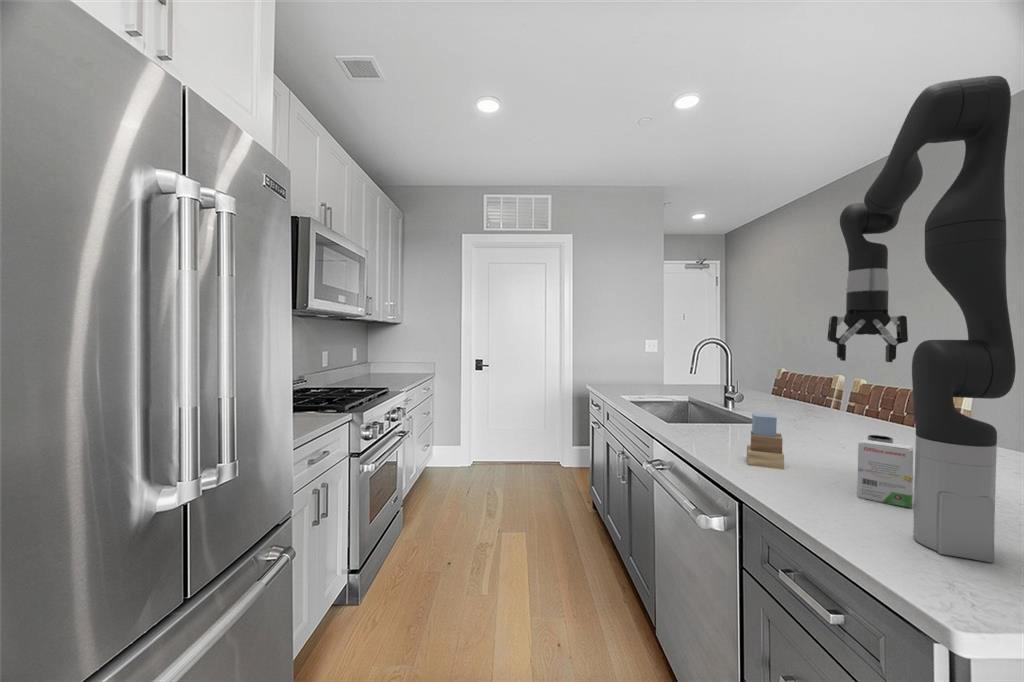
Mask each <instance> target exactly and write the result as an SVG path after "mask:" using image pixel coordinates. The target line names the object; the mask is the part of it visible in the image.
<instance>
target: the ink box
mask: <svg viewBox="0 0 1024 682" xmlns="http://www.w3.org/2000/svg"><path fill="white" fill-rule="evenodd" d="M857 444H858V446H857V479H856V481H857V482H856V483H857V485H856V487H857V489H856V497H858V498H861V499H866V500H870V501H875V502H879V503H882V504H889V505H894V506H897V507H903V508H906V509H911V508H912V506H913V500H914V446H912V445H905V444H897V443H893V444H892V443H885V442H878V441H871V440H868V439H862V440H860V441H858V443H857Z"/></svg>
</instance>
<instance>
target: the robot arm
mask: <svg viewBox="0 0 1024 682" xmlns="http://www.w3.org/2000/svg"><path fill="white" fill-rule="evenodd" d="M1011 96H1012V94H1011V87H1010V85H1009V82H1008V80H1007V79H1006V78H1004V76H1001V75H988V76H987V75H986V76H979V77H978V76H977V77H970V78H962V79H954V80H948V81H947V80H946V81H942V82H937V83H934V84H931V85H929V86H928V87H926V88H924V89H923V90H922V91H921V92H920V94H919V95H918V96H917V97H916V99H915V100H914V102H913V103H912V105H911V107H910V109H909V111H908V112H907V115H906V117H905V119H904V121H903V122H902V125H901V127H900V129H899V132H898V134H897V135H896V139H895V140H894V143H893V146H892V149H891V150H890V152H889V155H888V158H887V160H886V162H885V164H884V166H883V168H882V170H881V171H880V173H879V174H878V176H877V177H876V178H875V180H874V181H873V183H872V184H871V185H870V187H869V188H868V189H867V191H866V193H865V195H864V198H863V202H859V203H856V202H855V203H851V204H849V205H847V206H846V207H845V208H844V209H842V211H841V214H840V216H839V226H840V230H841V233H842V235H843V239H844V242H845V245H846V249H847V253H848V266H847V267H848V269H847V270H848V272H847V277H846V286H845V292H846V297H845V298H846V300H845V301H846V302H845V303H846V304H845V315H844V316H836V315H832V316H830V317H829V319H828V328H827V329H828V330H827V338H826V339H827V341H828V342H831V343H835V344H836V357H837V358H838V359H839V361H840V362H841V361H843V362H846V358H847V357H846V356H847V345H846V344H845V343H847V342H848V340H849V339H850V338H852V337H853V336H854V335H857V336H860V335H861V336H862V335H863V336H864V335H868V336H871V335H872V336H875V335H878V336H879V337H880V338H881V339H883V340H884V342H885V343H886V344H887V345H885V363H893V360H894V361H895V360H896V359H897V346H898V345H900V344H904V343H907V342H908V341H909V333H908V318H907V316H906V315H898V316H890V314H889V287H890V286H889V283H890V279H889V271H888V270H889V269H888V267H889V266H888V264H889V263H888V262H889V260H888V259H889V256H888V255H889V249H888V247H887V245H886V244H883V243H878V242H874V241H873V242H872V241H869V240H867V239H866V238H865V236H864V235H874V234H875V235H876V234H877V235H878V234H885V233H887V232H890V231H892V230H893V229H895V227H896V226H897V225H898V223H899V220H900V216H901V212H902V209H903V207H904V204H905V203H906V202H907V201H908V199H910V198H911V196H912V195H913V194H914V193H915V191H916V190H917V189H918V187H919V186H920V184H921V182H922V178H923V174H924V172H923V171H924V170H923V165H922V162H921V160H920V158H919V157H920V156H919V154H918V152H919V151H920V150H921V148H923V146H925V145H927V144H940V143H941V144H942V143H949V142H959V141H960V142H961V141H963V142H964V144H965V145H964V146H965V150H964V151H965V152H964V158H963V164H962V167H961V170H960V171H959V172H958V175H957V177H956V178H955V180H954V181H953V182H952V183H951V185H950V186H949V188H948V189H947V190H946V192H945V193H944V194H943V195H942V197H941V198H940V199H939V200H938V201H937V203H936V204H935V206H934V207H933V209H932V210H931V211H930V213H929V215H928V216H927V217H926V220H925V222H924V223H925V224H924V259H925V263H926V265H927V267H928V270H929V271H930V273H932V275H933V276H934V278H935V279H936V280H937V281H938V282H939V283H940V285H941V286H942V287H943V288H944V289H945V290H946V292H948V293H949V295H951V297H952V298H953V300H954V301H955V302H956V303H957V305H958V306H959V308H960V310H961V312H962V315H963V317H964V320H965V324H966V329H967V339H927V340H923V341H921V342H920V343H919V344H918V345H917V347H916V348H915V351H914V352H913V356H912V360H911V361H912V362H911V381H912V400H913V401H912V405H913V406H912V408H913V409H912V411H913V418H914V419H913V420H914V424H915V446H914V449H915V452H914V453H915V454H914V481H913V530H912V532H913V535H912V536H913V540H915V541H916V542H918V543H920V545H923V546H925V547H927V548H929V549H932V550H934V551H936V552H937V553H938V554H940V555H945V556H952V557H957V558H964V559H969V560H975V561H981V562H988V563H993V562H994V557H995V534H996V533H995V525H996V524H995V523H996V521H995V520H996V516H995V515H996V490H997V489H996V488H997V486H996V485H997V484H996V483H997V481H996V480H997V451H998V449H997V447H998V446H997V445H998V431H997V429H996V427H995V426H993V425H992V424H990V423H988V422H985V421H981V420H978V419H975V418H972V417H969V416H967V415H965V414H963V413H961V412H960V411H958V410H957V408H956V406H955V403H954V398H963V399H965V398H966V399H985V400H986V399H990V400H992V399H1000V398H1004V396H1006V395H1007V394H1009V392H1010V391H1011V390H1012V388H1013V385H1014V383H1015V377H1016V369H1017V366H1016V355H1015V347H1014V346H1015V345H1014V341H1013V334H1012V327H1011V319H1010V313H1009V306H1008V298H1007V297H1008V296H1007V294H1008V293H1007V216H1006V200H1005V199H1006V197H1005V192H1006V191H1005V177H1006V176H1005V175H1006V174H1005V168H1006V164H1005V163H1006V153H1007V146H1008V145H1007V143H1008V135H1009V127H1010V117H1011V107H1012V106H1011V105H1012V97H1011ZM842 322H843V323H844V324H845V326H847V328H846V329H845V330H844V332H843V333H842V334H841V335H840V336H839V337H837V333H838V326H841V323H842ZM890 322H891V323H892V325H893V326H896V327H895V328H896V338H895V337H894V336H893V335H892V333H891V332H890V331H889V330H888V329H887V328H886V327H887V326H888V324H890Z"/></svg>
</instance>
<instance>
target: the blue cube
mask: <svg viewBox="0 0 1024 682" xmlns="http://www.w3.org/2000/svg"><path fill="white" fill-rule="evenodd" d="M751 415H752V425H751V427H752V428H751V431H752V432H753V434H754V435H759V436H770V437H776V433H777V419H778V418H777V416H776V415H775V414H772V413H771V414H770V413H769V414H768V413H755V412H752V414H751Z"/></svg>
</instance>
